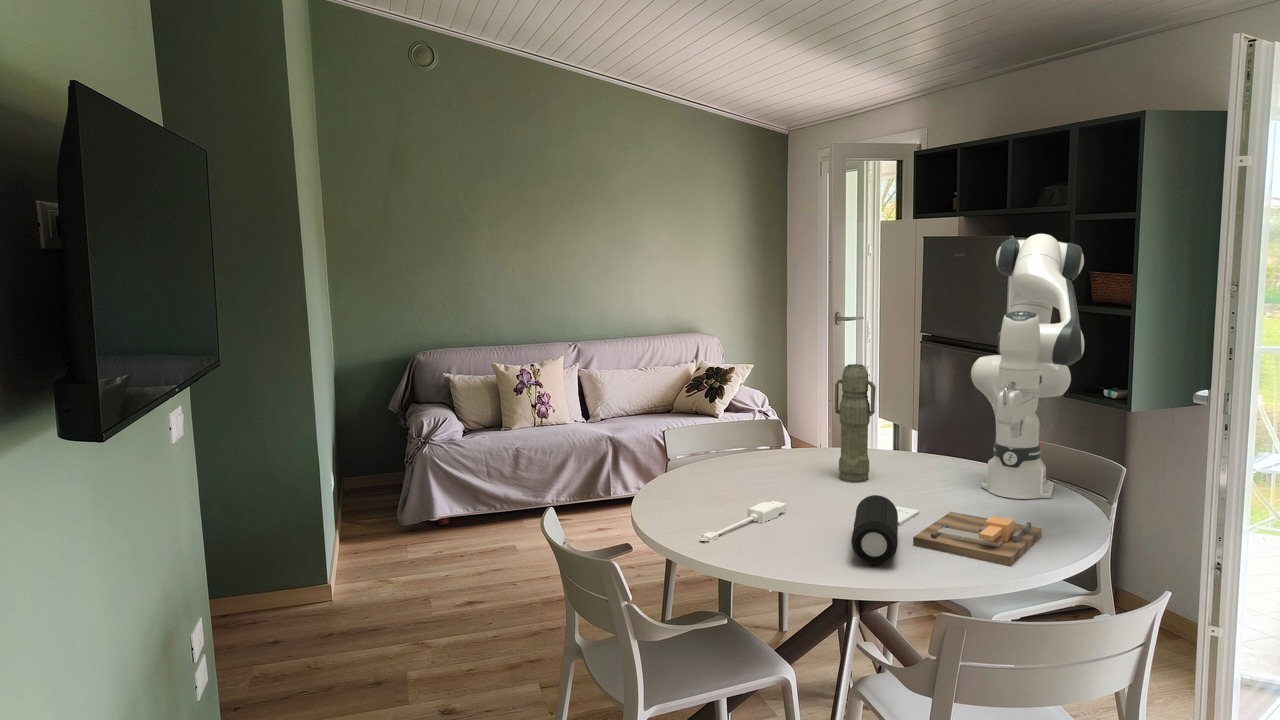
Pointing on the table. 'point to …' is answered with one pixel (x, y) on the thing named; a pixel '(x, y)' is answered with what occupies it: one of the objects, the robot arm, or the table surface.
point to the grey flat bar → (968, 537)
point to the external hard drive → (905, 514)
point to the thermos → (854, 422)
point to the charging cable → (754, 516)
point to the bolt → (997, 529)
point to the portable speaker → (875, 530)
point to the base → (974, 524)
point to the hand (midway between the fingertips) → (1016, 436)
